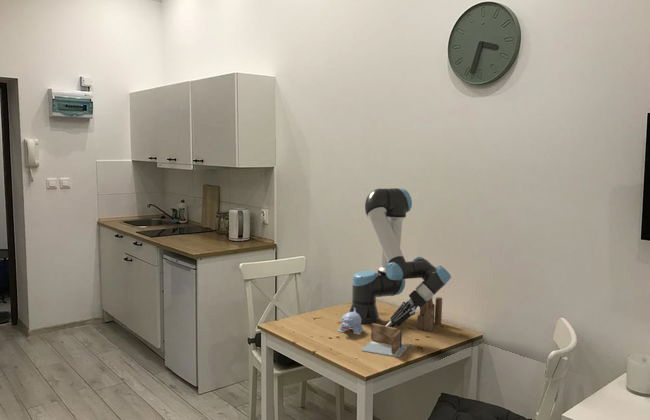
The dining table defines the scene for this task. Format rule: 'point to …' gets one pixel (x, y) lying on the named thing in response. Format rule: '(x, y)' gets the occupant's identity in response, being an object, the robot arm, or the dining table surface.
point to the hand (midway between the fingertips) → (382, 334)
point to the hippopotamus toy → (351, 322)
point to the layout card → (383, 348)
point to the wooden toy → (430, 314)
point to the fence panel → (382, 333)
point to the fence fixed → (396, 341)
